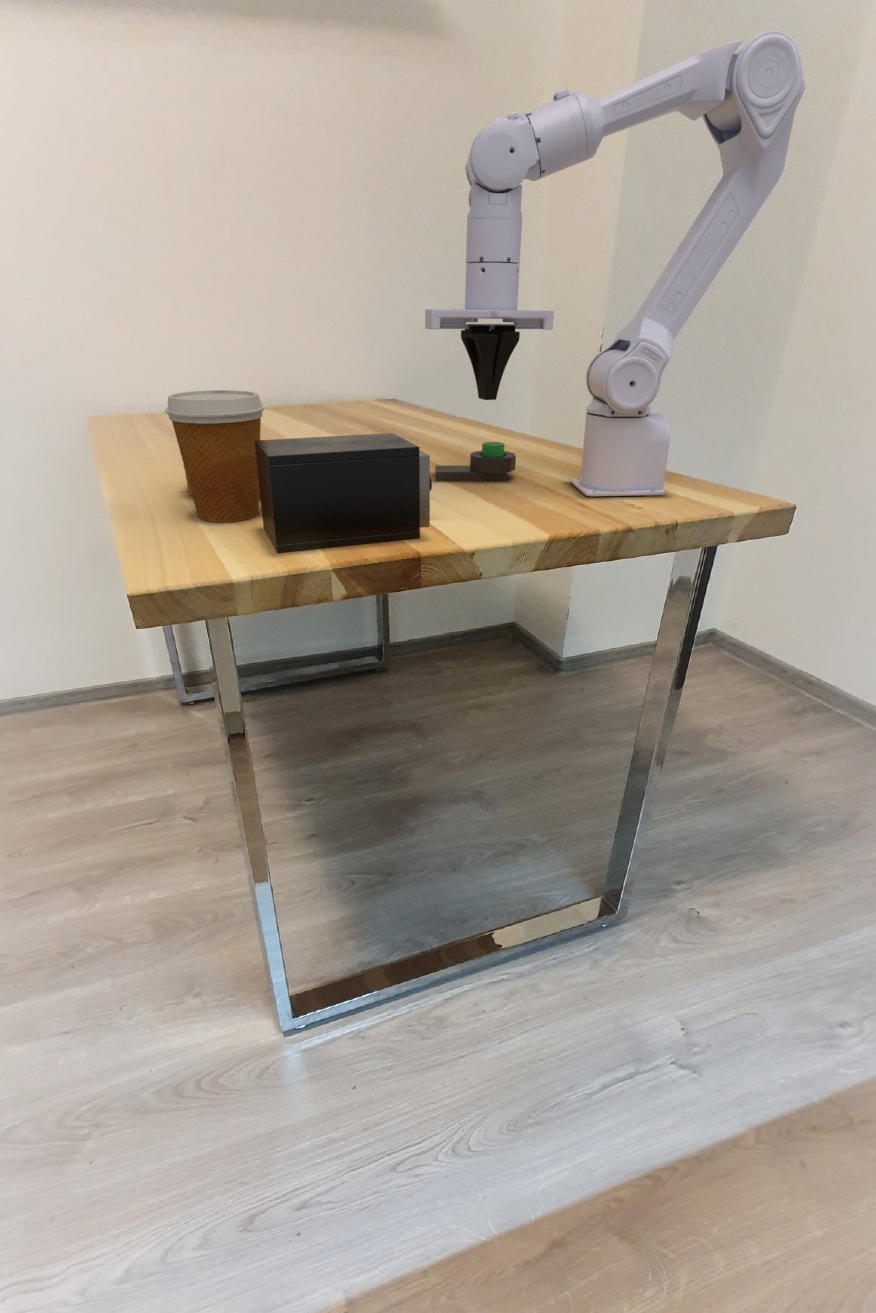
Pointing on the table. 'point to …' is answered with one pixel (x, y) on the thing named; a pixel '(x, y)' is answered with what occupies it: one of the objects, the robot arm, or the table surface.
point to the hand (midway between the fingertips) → (487, 399)
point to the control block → (479, 468)
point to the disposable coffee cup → (219, 450)
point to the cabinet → (338, 491)
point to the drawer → (425, 489)
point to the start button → (493, 449)
